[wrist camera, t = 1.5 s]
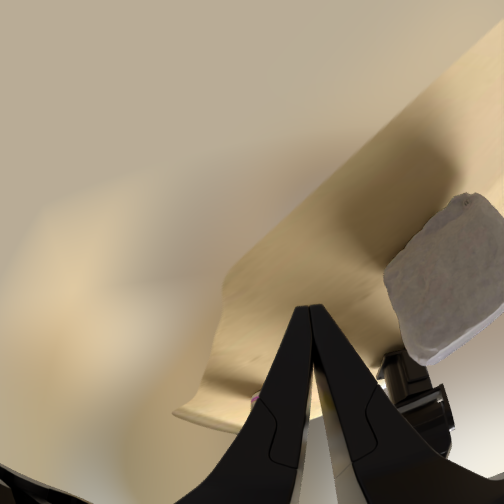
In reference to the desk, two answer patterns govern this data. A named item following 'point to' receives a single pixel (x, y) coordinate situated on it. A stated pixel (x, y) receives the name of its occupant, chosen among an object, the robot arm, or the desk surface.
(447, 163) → the desk surface
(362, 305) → the desk surface
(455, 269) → the stone block
